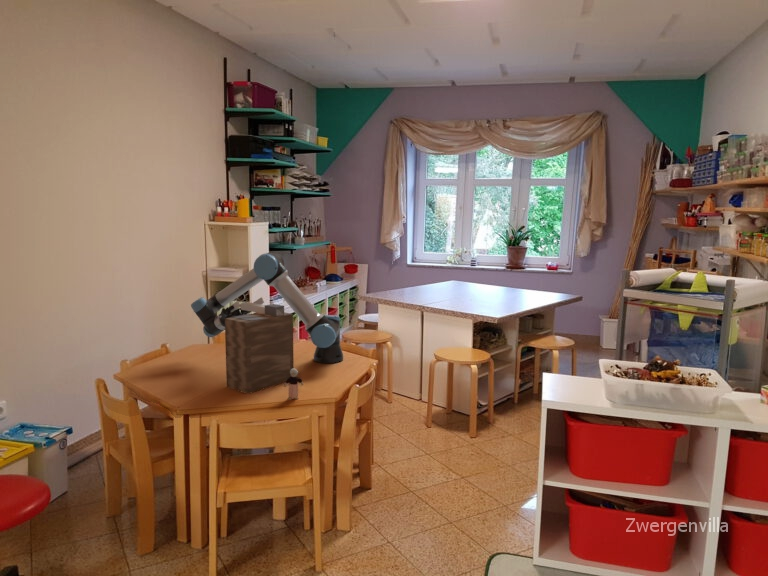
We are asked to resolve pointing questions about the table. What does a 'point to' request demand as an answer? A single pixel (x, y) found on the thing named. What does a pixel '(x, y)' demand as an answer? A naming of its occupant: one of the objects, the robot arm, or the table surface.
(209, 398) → the table surface
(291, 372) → the grandmother figurine
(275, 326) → the walnut shelf
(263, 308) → the bar
